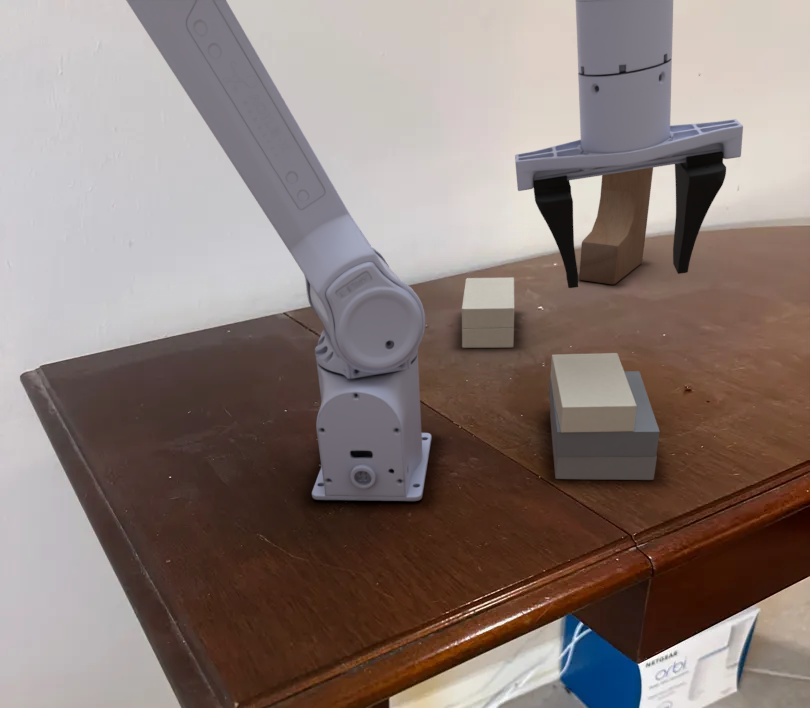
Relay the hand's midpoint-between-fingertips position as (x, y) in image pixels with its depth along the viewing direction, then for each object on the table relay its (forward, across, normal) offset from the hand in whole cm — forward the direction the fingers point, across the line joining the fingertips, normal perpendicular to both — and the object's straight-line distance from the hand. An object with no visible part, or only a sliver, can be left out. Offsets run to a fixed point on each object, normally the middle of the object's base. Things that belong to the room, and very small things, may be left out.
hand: (625, 275), depth 59 cm
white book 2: (+11, +12, -19) cm, 25 cm away
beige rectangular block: (+7, +3, +5) cm, 10 cm away
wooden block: (+14, -3, -37) cm, 40 cm away
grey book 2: (+11, +3, +5) cm, 13 cm away
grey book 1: (+9, +3, +5) cm, 11 cm away
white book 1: (+9, +11, -19) cm, 24 cm away
